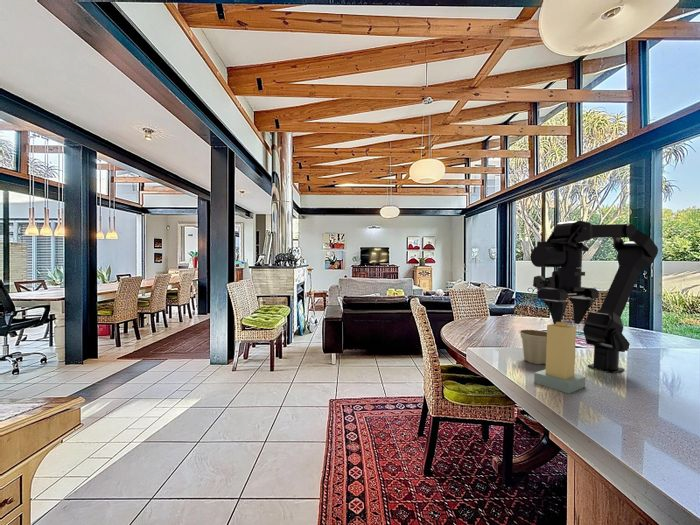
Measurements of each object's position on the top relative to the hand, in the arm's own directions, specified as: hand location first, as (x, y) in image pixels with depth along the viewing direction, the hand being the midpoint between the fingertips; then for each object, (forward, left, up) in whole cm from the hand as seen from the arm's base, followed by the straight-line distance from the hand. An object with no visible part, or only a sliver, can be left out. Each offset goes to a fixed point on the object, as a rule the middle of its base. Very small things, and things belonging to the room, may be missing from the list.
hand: (567, 325), depth 94 cm
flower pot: (-2, -10, -13) cm, 17 cm away
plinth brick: (+11, +5, -13) cm, 18 cm away
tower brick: (+11, +5, -10) cm, 16 cm away
